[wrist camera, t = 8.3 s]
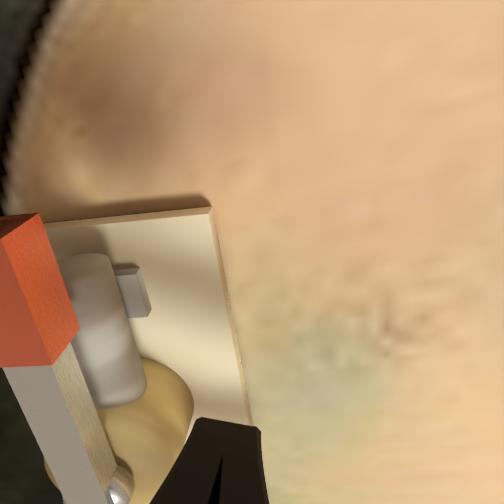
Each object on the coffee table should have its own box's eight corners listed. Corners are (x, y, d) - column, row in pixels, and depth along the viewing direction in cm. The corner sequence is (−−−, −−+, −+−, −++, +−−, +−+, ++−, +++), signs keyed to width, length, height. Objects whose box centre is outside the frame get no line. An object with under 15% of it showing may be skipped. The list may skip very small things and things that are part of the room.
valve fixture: (268, 506, 25) (261, 605, 21) (102, 506, 26) (63, 598, 22) (211, 206, 17) (183, 262, 13) (-18, 229, 19) (-112, 286, 14)
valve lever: (143, 496, 18) (127, 541, 16) (87, 496, 18) (66, 540, 16) (42, 212, 13) (4, 238, 11) (-34, 220, 13) (-81, 246, 11)
